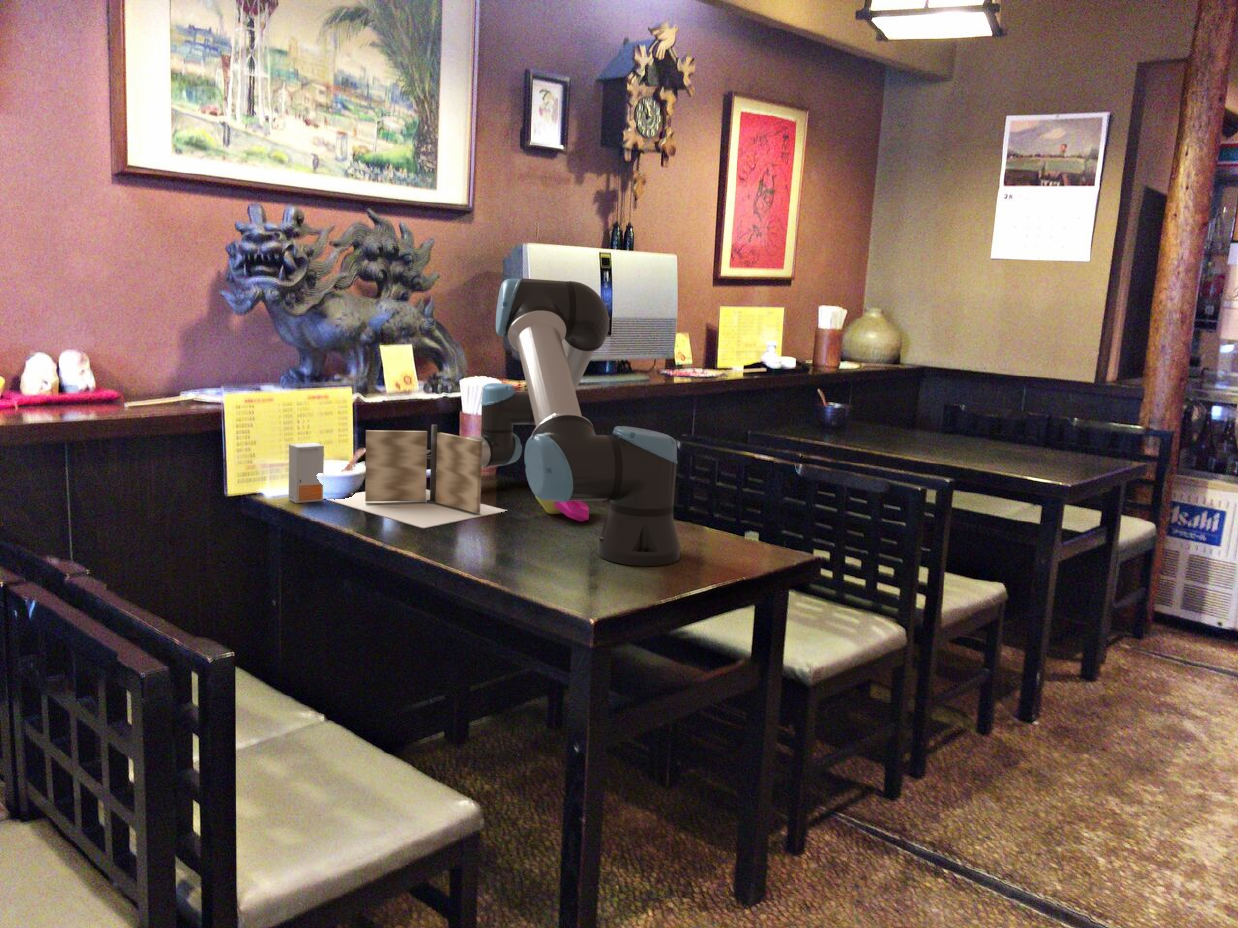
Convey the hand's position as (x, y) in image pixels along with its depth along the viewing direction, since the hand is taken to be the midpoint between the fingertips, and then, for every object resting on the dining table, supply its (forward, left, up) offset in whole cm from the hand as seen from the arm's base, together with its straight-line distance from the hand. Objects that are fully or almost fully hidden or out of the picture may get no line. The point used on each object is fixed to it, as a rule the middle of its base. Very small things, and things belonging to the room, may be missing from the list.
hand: (382, 465), depth 211 cm
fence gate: (-3, -2, -7) cm, 8 cm away
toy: (-31, -22, -8) cm, 39 cm away
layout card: (-6, -4, -8) cm, 11 cm away
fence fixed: (-13, -8, -8) cm, 17 cm away
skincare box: (+11, +11, -8) cm, 18 cm away
